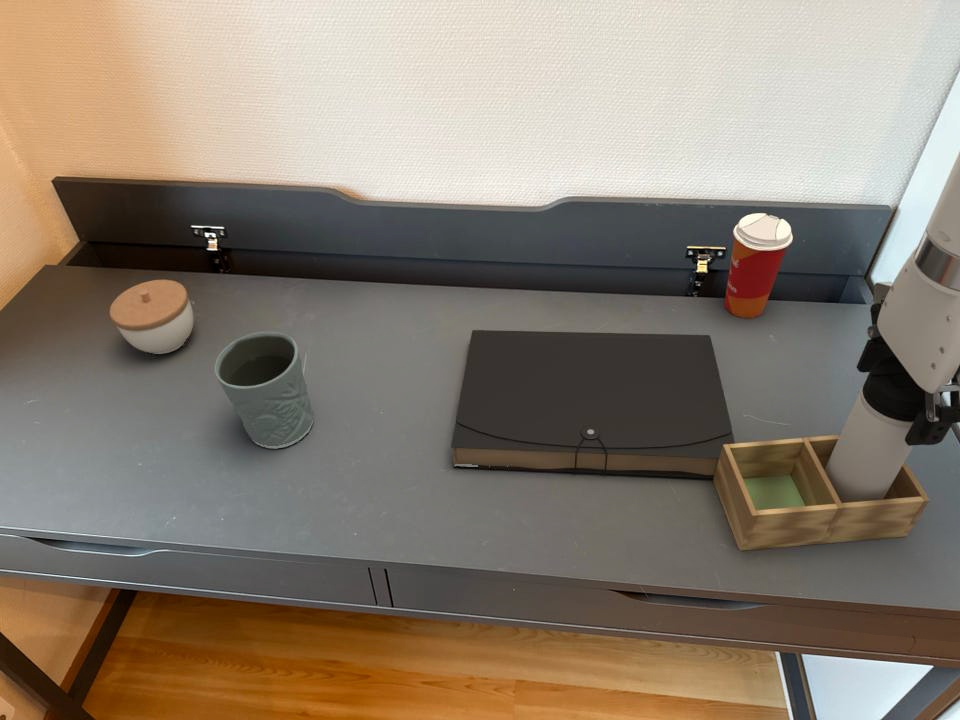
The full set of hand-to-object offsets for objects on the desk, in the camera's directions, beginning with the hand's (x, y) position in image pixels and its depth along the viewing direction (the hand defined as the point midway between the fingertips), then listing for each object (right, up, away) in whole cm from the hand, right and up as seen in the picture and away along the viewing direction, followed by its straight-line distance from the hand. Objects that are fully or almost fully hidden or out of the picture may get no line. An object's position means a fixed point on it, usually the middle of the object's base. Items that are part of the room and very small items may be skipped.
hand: (895, 403), depth 68 cm
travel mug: (+1, -12, +11) cm, 16 cm away
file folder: (-26, -2, +25) cm, 36 cm away
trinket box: (-88, +7, +39) cm, 96 cm away
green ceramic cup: (-66, -4, +25) cm, 71 cm away
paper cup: (-1, +12, +37) cm, 39 cm away
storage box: (-3, -12, +11) cm, 17 cm away
